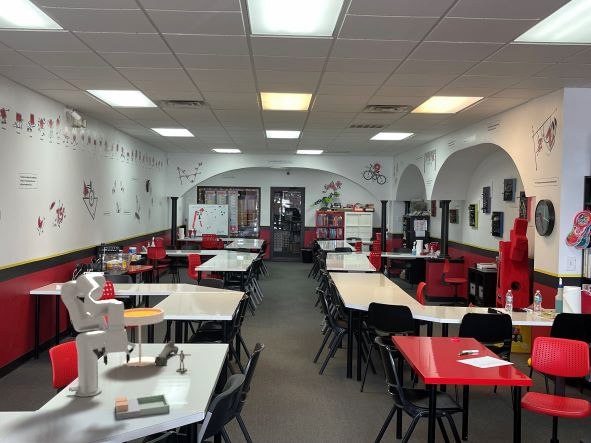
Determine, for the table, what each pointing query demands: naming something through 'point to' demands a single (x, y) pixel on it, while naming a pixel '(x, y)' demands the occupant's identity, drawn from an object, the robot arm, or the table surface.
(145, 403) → the tray
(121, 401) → the tile far
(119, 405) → the tile near
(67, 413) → the table surface
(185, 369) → the figurine
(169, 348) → the bone
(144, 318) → the round pedestal stand
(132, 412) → the deck
